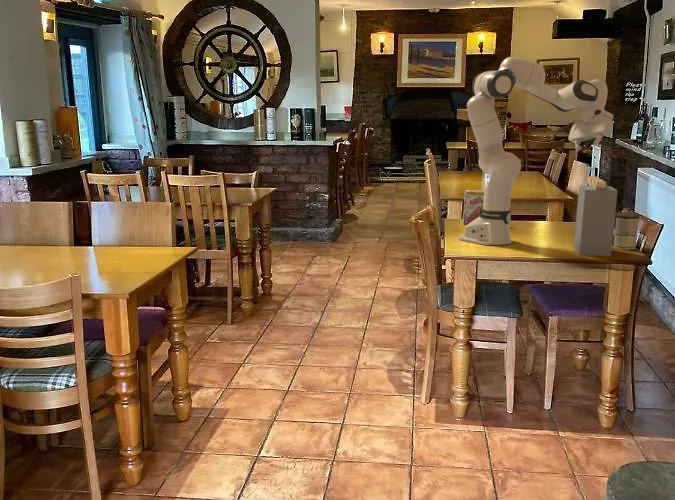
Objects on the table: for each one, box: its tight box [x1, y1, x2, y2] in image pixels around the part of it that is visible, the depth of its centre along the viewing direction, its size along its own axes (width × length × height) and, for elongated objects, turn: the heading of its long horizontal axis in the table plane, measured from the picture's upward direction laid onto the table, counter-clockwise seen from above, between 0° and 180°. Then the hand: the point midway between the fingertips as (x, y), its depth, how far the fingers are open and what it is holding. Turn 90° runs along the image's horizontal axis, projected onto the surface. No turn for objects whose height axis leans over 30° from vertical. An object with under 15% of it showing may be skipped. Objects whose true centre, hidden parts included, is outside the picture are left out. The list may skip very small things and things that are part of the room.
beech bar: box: [585, 175, 607, 190], centre depth 269 cm, size 19×4×3 cm, turn 171°
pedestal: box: [573, 185, 618, 257], centre depth 268 cm, size 12×12×26 cm
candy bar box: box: [462, 189, 485, 226], centre depth 325 cm, size 11×5×16 cm, turn 84°
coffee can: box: [612, 211, 640, 251], centre depth 278 cm, size 10×10×14 cm
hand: (586, 147), depth 280 cm, fingers open, 8 cm apart
